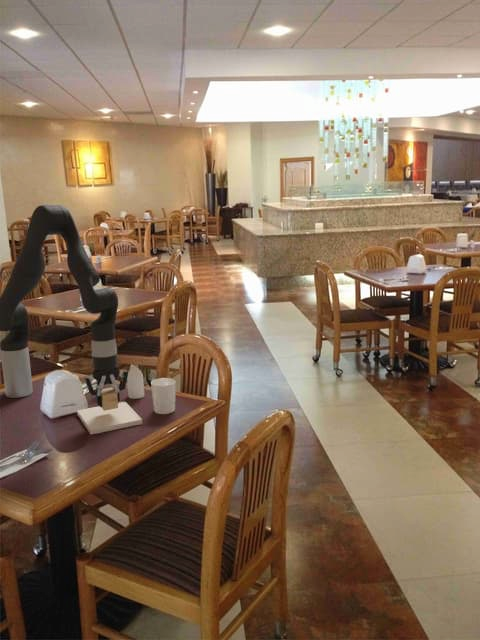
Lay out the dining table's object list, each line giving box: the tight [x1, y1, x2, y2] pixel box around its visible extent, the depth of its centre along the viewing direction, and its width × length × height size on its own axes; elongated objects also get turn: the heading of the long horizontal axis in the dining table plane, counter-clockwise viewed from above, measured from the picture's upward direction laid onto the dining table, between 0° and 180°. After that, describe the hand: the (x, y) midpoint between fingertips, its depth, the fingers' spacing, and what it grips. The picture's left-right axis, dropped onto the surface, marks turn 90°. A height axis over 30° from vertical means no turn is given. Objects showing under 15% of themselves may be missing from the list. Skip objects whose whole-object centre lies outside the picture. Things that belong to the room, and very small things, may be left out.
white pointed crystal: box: [126, 363, 145, 400], centre depth 200 cm, size 6×12×6 cm
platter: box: [76, 401, 143, 435], centre depth 181 cm, size 18×16×2 cm
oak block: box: [101, 387, 119, 411], centre depth 180 cm, size 6×4×5 cm
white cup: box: [150, 377, 176, 415], centre depth 187 cm, size 8×8×10 cm
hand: (108, 404), depth 180 cm, fingers closed on oak block, 4 cm apart
